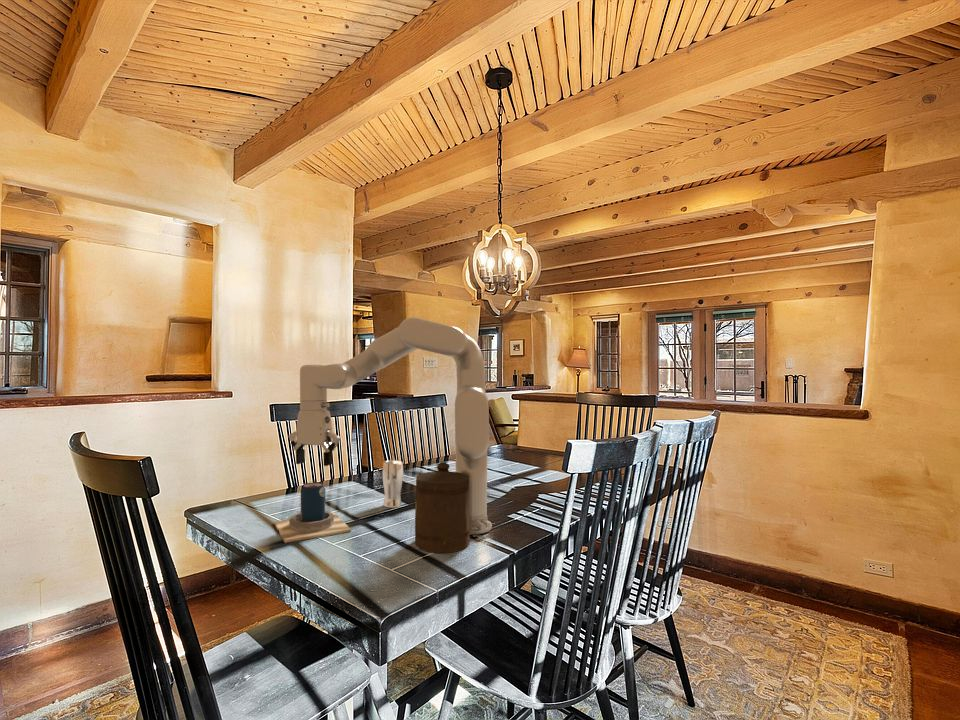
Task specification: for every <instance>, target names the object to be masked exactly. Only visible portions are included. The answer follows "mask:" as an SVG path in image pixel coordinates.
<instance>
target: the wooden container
mask: <svg viewBox="0 0 960 720" xmlns="http://www.w3.org/2000/svg"><path fill="white" fill-rule="evenodd" d="M436 468H437V470H436V471H429V472H423V473H420V474H418V475H416V476H415V478H416V479H415V507H414V508H415V509H414V511H415V513H414V534H415V535H414V544H415V546H416V547H417V548H418V549H419V550H421V551H424V552H427V553H432V554H433V553H435V554H448V553H454V552H458V551H462V550H464V549H466V548H467V547H468V546H469V545H470V543H471V542H470V536H471V534H470V532H469V530H470V509H469V476H468V475H466V474H463V473H459V472H456V471H450V470H449V469H450V464H449V463H447V462H446V461H441V462H439V463H438V464H437V465H436Z"/></svg>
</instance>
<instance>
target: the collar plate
mask: <svg viewBox="0 0 960 720" xmlns="http://www.w3.org/2000/svg"><path fill="white" fill-rule="evenodd" d="M300 513H301V512H298V513H294V514H293V515H292V516H290V517H289V519H287V518H286V519H282V520H281V519H280V520H275V521H274V522H273V523H274V526H275V528H276V530H277V532H278V531H279V532H278V534H279V535H280V537H281V539H282V541H283V542H284V544H286V543H292V542H298V541H303V540H311V539H316V538H322V537H328V536H333V535H340V534H345V533H346V534H347V533H351V532H352V528H350V527H349V525H348V524H346V523H345V522H344V521H343V520H342V518H340V517H339V516H338V515H337V514H336V512H331V511H326V510H325V519H324V520H321V521H315V522H300Z"/></svg>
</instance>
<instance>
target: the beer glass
mask: <svg viewBox="0 0 960 720" xmlns="http://www.w3.org/2000/svg"><path fill="white" fill-rule="evenodd" d="M382 463H383V464H382V483H383V490H384V491H383V492H384V500H383V507H384V508H386V507H387V508H386V509H396V507H397V508H400V507H401V506H402V499H401V493H402V486H403V480H404V465H403V464H404V463H403V461H402V460H397V459H395V460H394V459H392V460H390V459H389V460H384V461H383V462H382Z"/></svg>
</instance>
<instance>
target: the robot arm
mask: <svg viewBox="0 0 960 720" xmlns="http://www.w3.org/2000/svg"><path fill="white" fill-rule="evenodd" d="M416 350H421V351H427V352H429V353H435V354H439V355H443V356H447V357H451V358H452V359H453V360H454V361H455V365H456V366H455V367H456V396H455V399H454V433H455V434H454V444H455V472H459V473H463V474H466V475H468V476H469V509H470V530H469V532H470V535H479V534H480V535H481V534H486V533H488V532H490V531H491V530H492V527H493V524H492V522H491V521H489V520H488V515H487V512H488V509H487V508H488V505H487V503H488V448H489V444H490V414H489V412H490V411H489V410H490V409H489V407H490V405H489V399H488V396H487V391H486V374H485V373H486V370H485V369H486V368H485V360H484V355H483V353H482V350H481V348H480V346H479V344H478V343H477V342H476V341H475V339H473V338H472V337H470V336H469V335H467V334H466V333H465V332H464V331H463V330H462V329H461V328H459V327H457V326H454V325H449V324H444V323H439V322H435V321H431V320H428V319H423V318H420V317H415V316H414V317H413V316H412V317H408V318H405V319H404V320H402V322H401V323H400V324H399V325H398V326H397V327H395V328H394V329H392V330H390V331H389V332H387V333H385V334H383V335H382V336H379V337H378V338H375V339H373V341H371V343H369V345H368V346H367V347H366V348H365V349H364V350H363V351H361V352H360V353H359V354H357V355H356V356H353V357H351V358H350V359H348V360H346V361H345V362H342V363H331V364H325V365H323V364H304V365H302V366H301V367H300V368H299V411H298V413H297V420H296V427H295V428H296V430H294V431H293V432H292V433H290V434H289V435H288V438H289V441H290V445H291V446H292V447H293V450H294V451H295V464H296V465H301V464H303V463H305V462H306V450H305V448H304V447H305V446H321V447H322V448H323V450H324V452H323V466H324V467H328V466H330V465H331V466H332V464H333V452H334V451H335V449H336V447H337V446H338V445H339V444H338V443H339V442H340V439H341V437H340V436H339V435H337V434H336V433H334V432H333V431H334V430H333V424H332V423H333V422H332V416H331V412H330V410H328V408H330V402H328V397H327V396H328V395H327V394H328V390H343V389H346V388H350V387H351V386H354V385H355V384H357V383H359V382H362V381H363V380H364V379H367V378H368V377H370V376H371V375H374V374H375V373H376V372H378V371H380V370H383V369H385V368H386V367H388V366H390V365H391V364H393V363H395V362H397V361H398V360H400V359H402V358H404V357H405V356H407V355H409V354H411V353H412V352H414V351H416Z"/></svg>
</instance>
